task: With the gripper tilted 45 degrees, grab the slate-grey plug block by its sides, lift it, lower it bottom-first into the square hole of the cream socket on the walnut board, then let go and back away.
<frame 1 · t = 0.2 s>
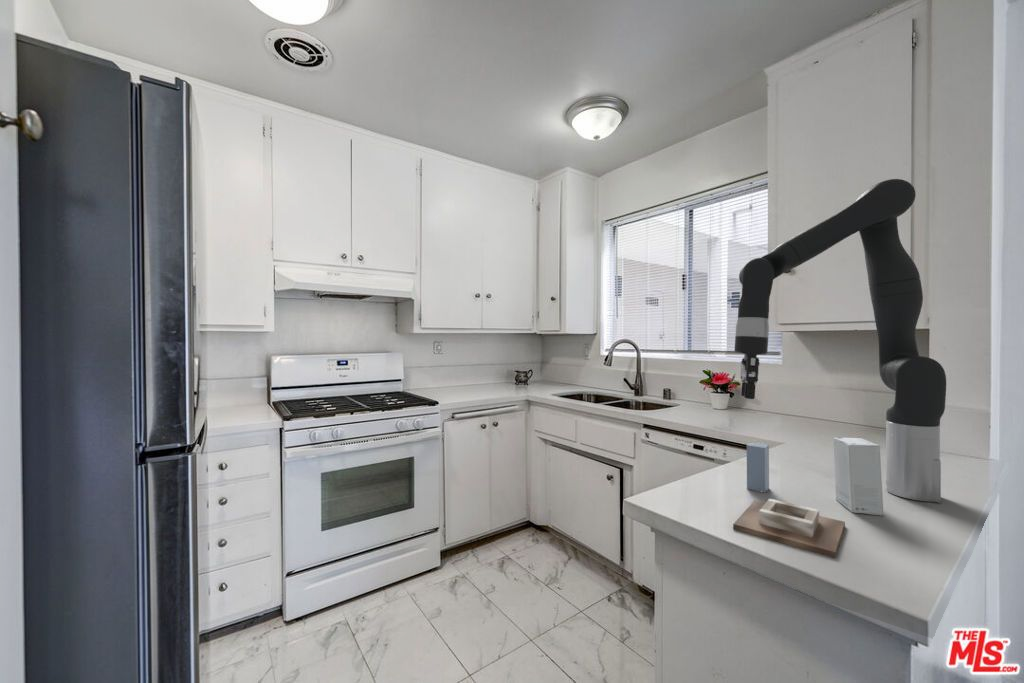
hand: (747, 397, 108), 22 cm above the countertop, tool pointing down, fingers open, 8 cm apart
skincare box: (857, 508, 92), on the countertop
socket board: (789, 527, 82), on the countertop
plug: (758, 488, 104), on the countertop
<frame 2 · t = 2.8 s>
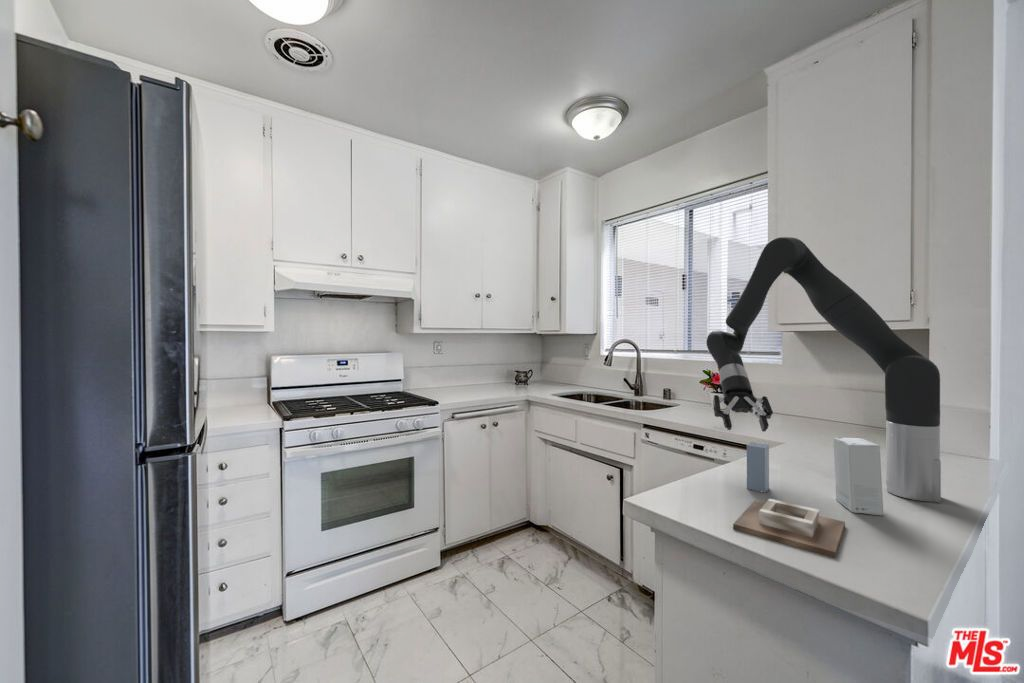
hand: (747, 429, 112), 13 cm above the countertop, tool tilted 45°, fingers open, 8 cm apart
nothing on the countertop moved.
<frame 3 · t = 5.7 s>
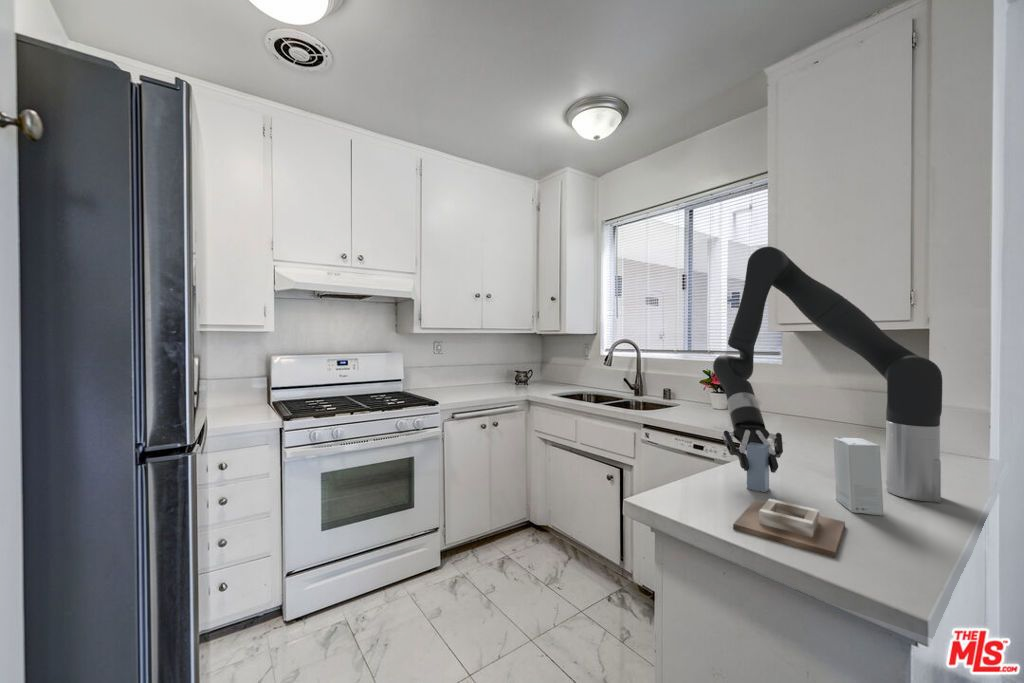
hand: (760, 470, 102), 5 cm above the countertop, tool tilted 45°, fingers closed on plug, 5 cm apart
plug: (758, 488, 103), on the countertop, touching gripper
everything else where it was.
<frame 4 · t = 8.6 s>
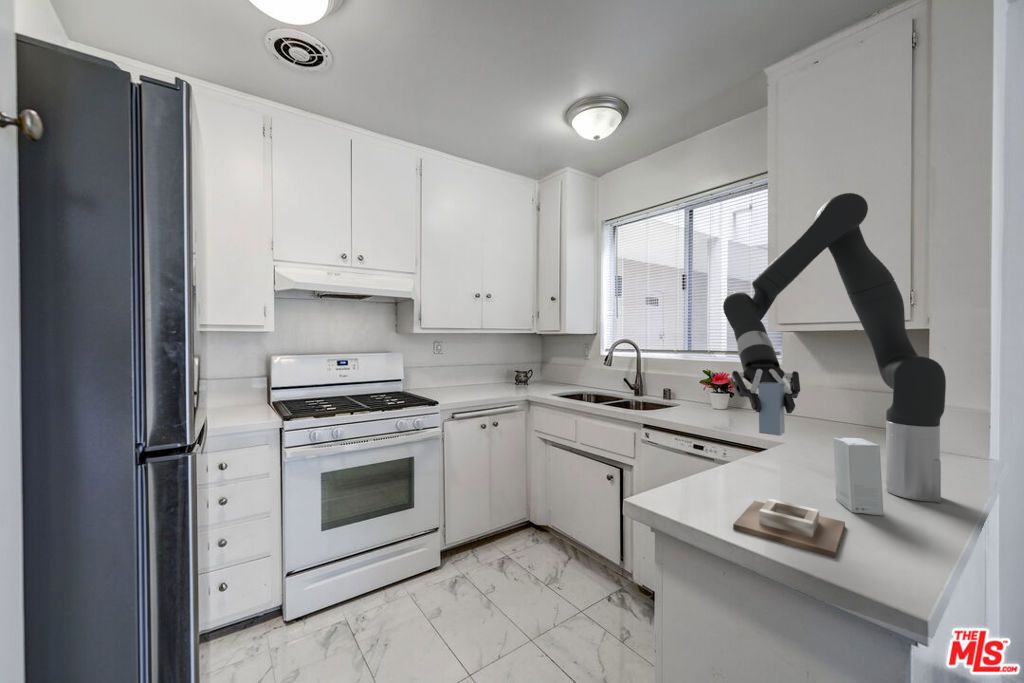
hand: (774, 410, 90), 22 cm above the countertop, tool tilted 45°, fingers closed on plug, 5 cm apart
plug: (771, 432, 91), point 17 cm above the countertop, touching gripper
everything else where it was.
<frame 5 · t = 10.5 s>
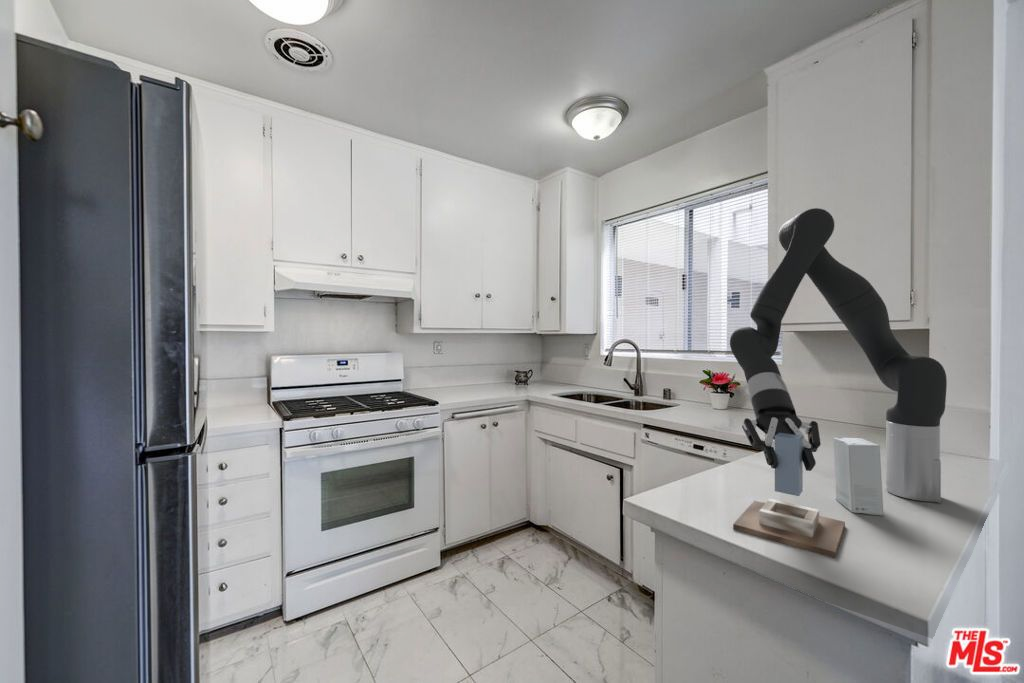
hand: (792, 467, 80), 13 cm above the countertop, tool tilted 45°, fingers closed on plug, 5 cm apart
plug: (788, 490, 82), point 7 cm above the countertop, touching gripper
everything else where it was.
when the fingers open (8 cm above the countertop, at t = 12.0 s): plug drops 1 cm, resting on socket board.
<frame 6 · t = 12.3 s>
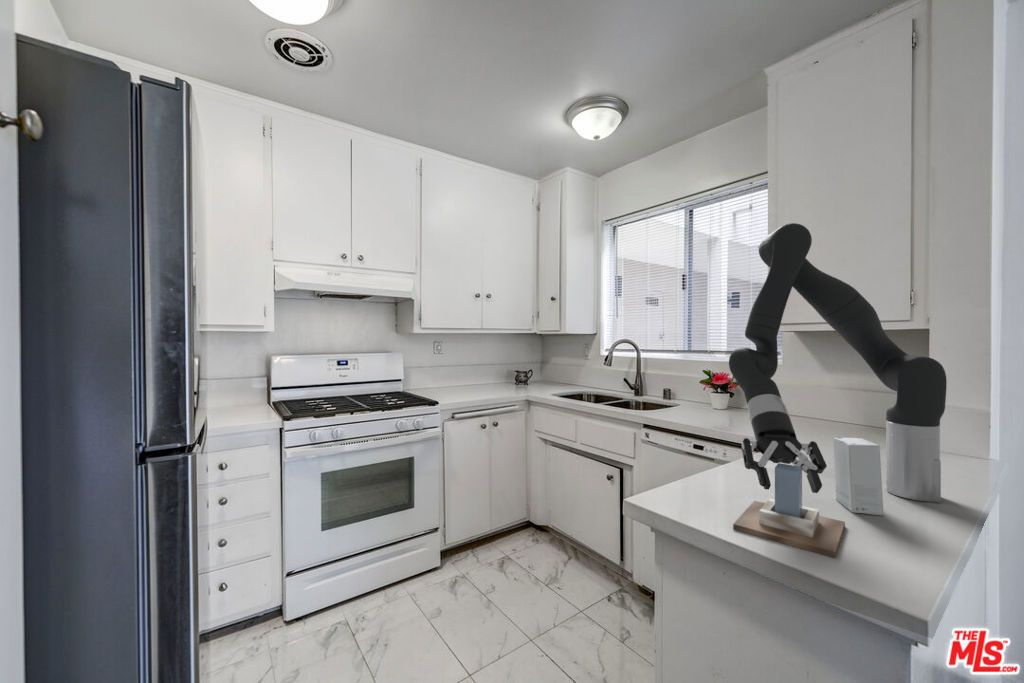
hand: (792, 489, 81), 8 cm above the countertop, tool tilted 45°, fingers open, 8 cm apart
plug: (788, 522, 82), point 1 cm above the countertop, touching socket board
everything else where it was.
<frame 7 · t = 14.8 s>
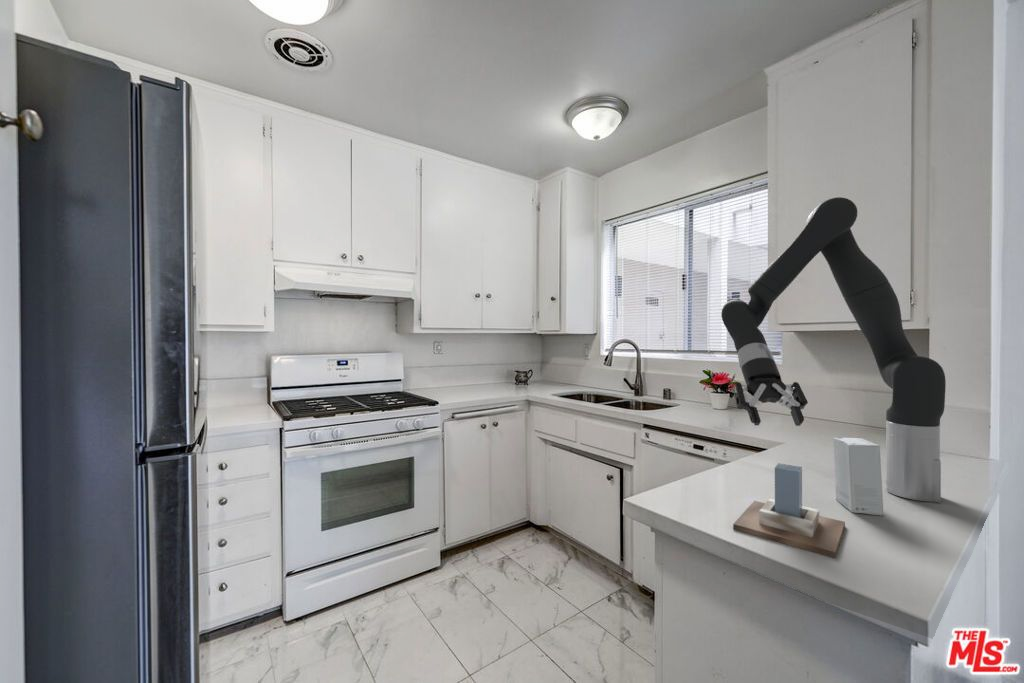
hand: (778, 424, 93), 18 cm above the countertop, tool tilted 40°, fingers open, 8 cm apart
nothing on the countertop moved.
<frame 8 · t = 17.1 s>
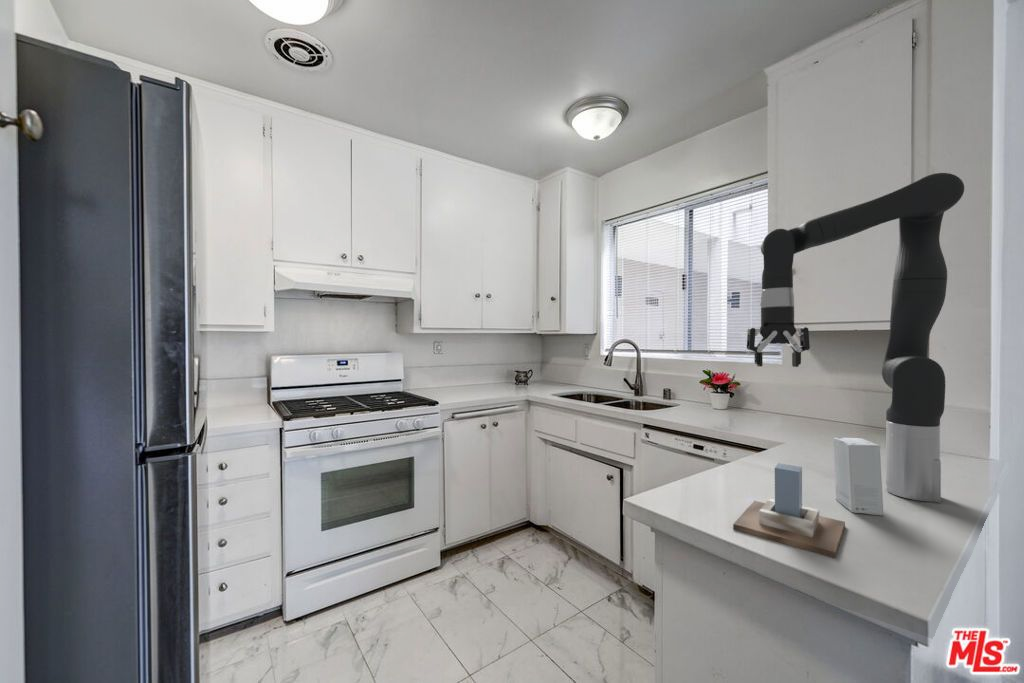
hand: (777, 366, 111), 30 cm above the countertop, tool pointing down, fingers open, 8 cm apart
nothing on the countertop moved.
at the end: plug 0.1 cm off-centre on the socket board, point 1.0 cm above the socket board's base; plug tilted 0°; the gripper is holding nothing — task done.
